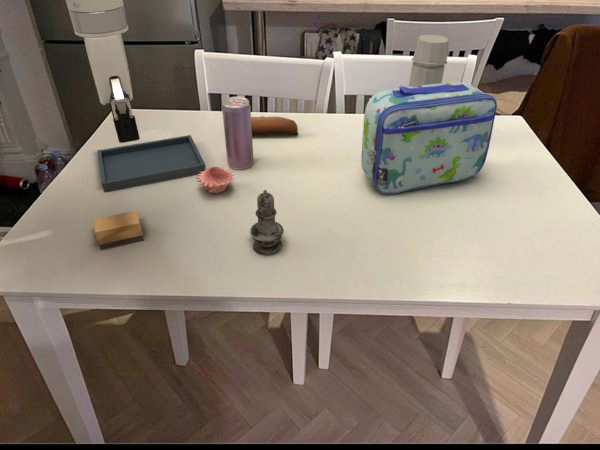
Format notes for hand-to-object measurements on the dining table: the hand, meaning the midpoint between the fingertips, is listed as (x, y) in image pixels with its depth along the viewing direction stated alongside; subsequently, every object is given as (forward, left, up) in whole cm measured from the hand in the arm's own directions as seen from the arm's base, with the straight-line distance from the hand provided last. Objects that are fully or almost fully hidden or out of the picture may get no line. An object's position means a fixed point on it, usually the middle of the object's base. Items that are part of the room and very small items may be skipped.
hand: (126, 128), depth 78 cm
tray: (+4, +21, -19) cm, 28 cm away
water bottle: (+67, +9, -19) cm, 70 cm away
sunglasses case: (+33, +28, -19) cm, 47 cm away
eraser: (-5, -4, -19) cm, 20 cm away
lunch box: (+57, -7, -19) cm, 60 cm away
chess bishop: (+19, -16, -19) cm, 31 cm away
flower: (+15, +5, -19) cm, 25 cm away
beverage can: (+23, +14, -19) cm, 33 cm away
